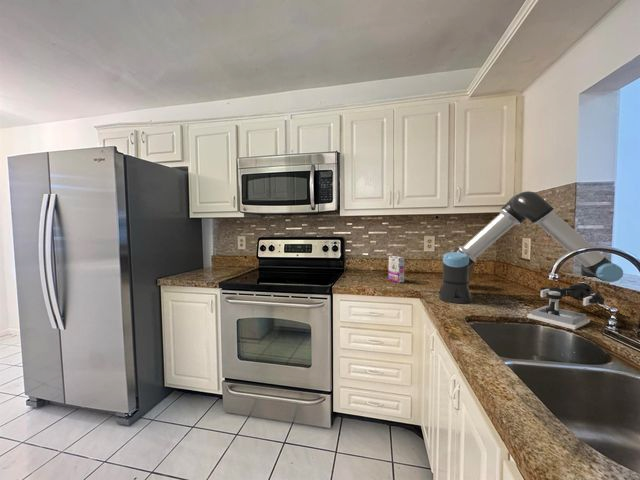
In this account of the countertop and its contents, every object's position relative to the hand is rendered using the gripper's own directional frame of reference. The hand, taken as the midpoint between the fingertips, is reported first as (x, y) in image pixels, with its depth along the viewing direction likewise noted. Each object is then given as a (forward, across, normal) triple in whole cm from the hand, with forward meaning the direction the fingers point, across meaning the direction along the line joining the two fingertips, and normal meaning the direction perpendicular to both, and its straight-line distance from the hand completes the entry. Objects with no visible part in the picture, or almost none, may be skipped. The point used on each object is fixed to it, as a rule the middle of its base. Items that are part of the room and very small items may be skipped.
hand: (561, 297), depth 110 cm
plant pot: (-17, +55, -9) cm, 58 cm away
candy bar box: (+5, +86, -9) cm, 86 cm away
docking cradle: (+1, 0, -9) cm, 9 cm away
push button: (+2, +2, -8) cm, 8 cm away
